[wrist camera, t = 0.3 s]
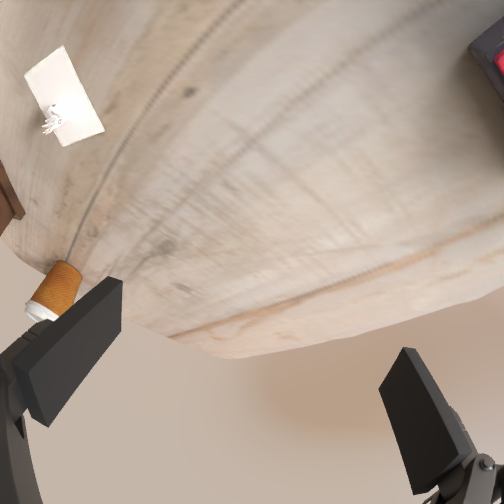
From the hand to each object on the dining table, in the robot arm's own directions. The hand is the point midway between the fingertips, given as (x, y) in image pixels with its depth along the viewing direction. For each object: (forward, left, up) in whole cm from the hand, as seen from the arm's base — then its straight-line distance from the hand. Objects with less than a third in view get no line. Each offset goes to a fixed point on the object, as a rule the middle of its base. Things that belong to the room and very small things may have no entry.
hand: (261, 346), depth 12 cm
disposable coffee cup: (+35, -36, -16) cm, 52 cm away
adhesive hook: (-1, -23, -16) cm, 28 cm away
